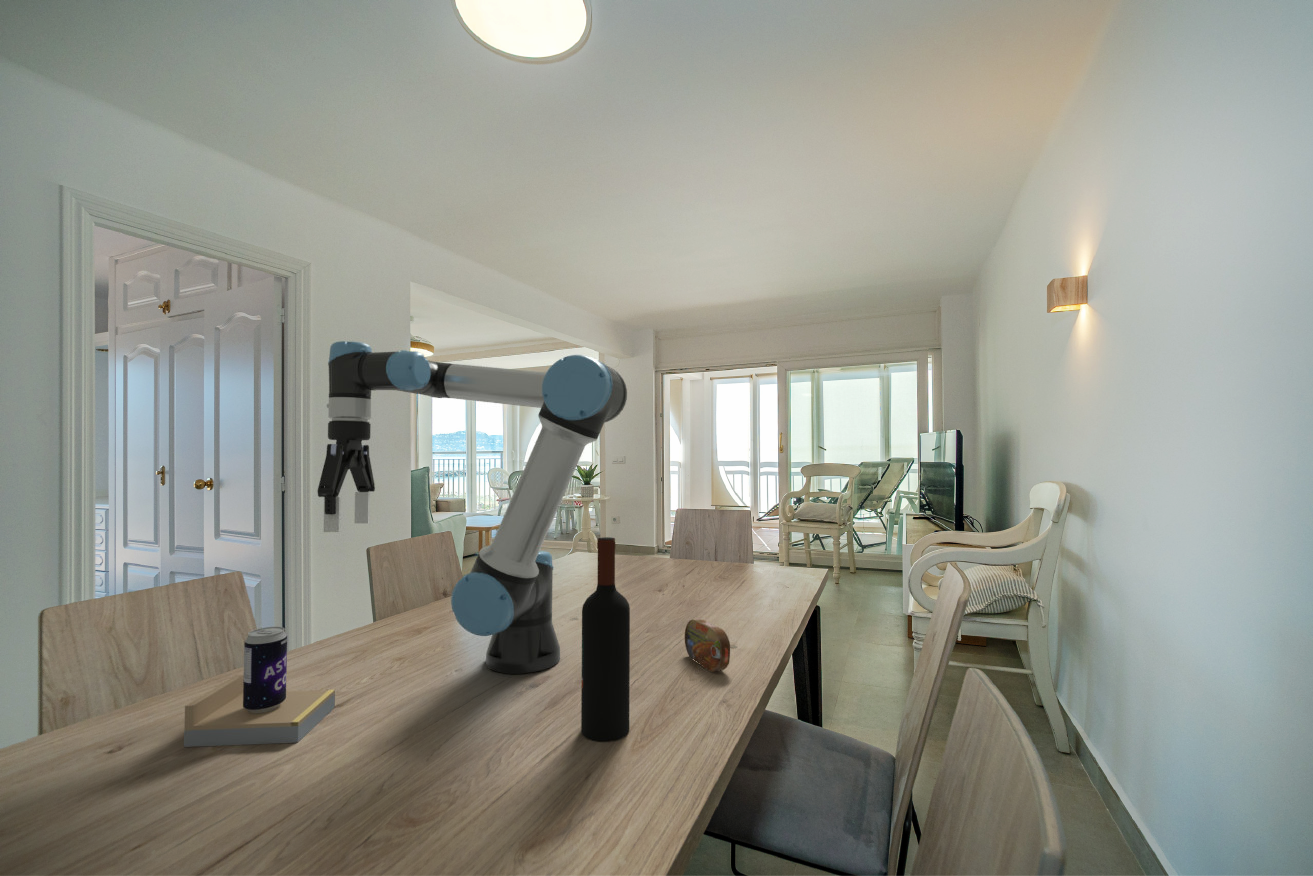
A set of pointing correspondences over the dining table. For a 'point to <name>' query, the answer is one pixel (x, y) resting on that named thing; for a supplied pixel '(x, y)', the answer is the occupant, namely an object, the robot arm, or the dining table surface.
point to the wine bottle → (605, 654)
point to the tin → (707, 645)
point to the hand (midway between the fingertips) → (347, 527)
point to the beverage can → (265, 669)
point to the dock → (252, 717)
